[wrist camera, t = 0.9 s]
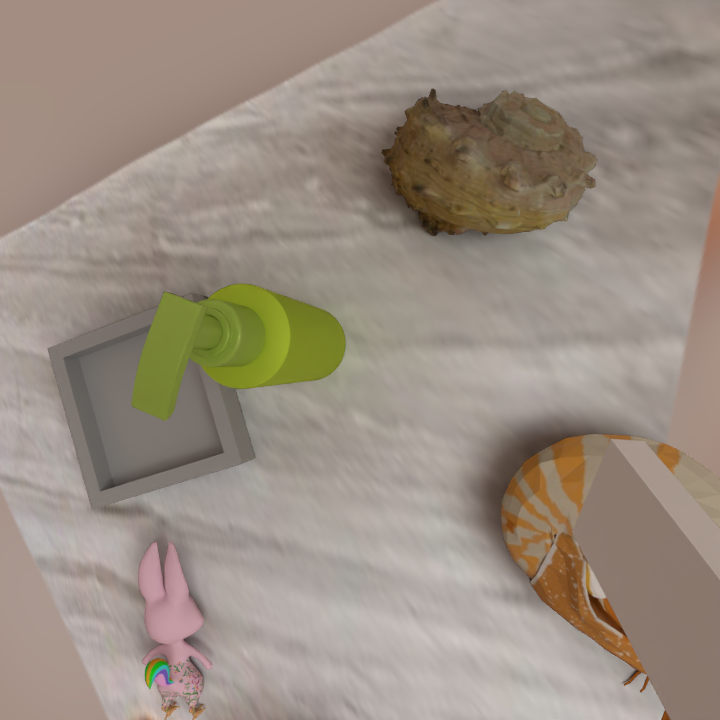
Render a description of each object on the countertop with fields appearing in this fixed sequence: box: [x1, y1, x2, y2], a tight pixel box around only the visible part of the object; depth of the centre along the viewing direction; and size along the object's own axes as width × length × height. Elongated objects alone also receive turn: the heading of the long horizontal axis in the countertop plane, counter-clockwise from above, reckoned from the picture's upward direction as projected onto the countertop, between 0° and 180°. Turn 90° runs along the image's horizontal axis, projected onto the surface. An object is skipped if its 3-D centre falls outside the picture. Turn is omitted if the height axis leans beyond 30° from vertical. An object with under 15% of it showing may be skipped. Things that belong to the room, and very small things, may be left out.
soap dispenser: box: [131, 284, 345, 421], centre depth 32 cm, size 6×7×20 cm
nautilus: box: [501, 434, 720, 720], centre depth 33 cm, size 8×22×15 cm
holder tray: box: [48, 293, 256, 509], centre depth 43 cm, size 14×14×3 cm
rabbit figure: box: [138, 542, 212, 720], centre depth 41 cm, size 6×6×15 cm
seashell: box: [381, 89, 598, 236], centre depth 35 cm, size 11×14×10 cm
